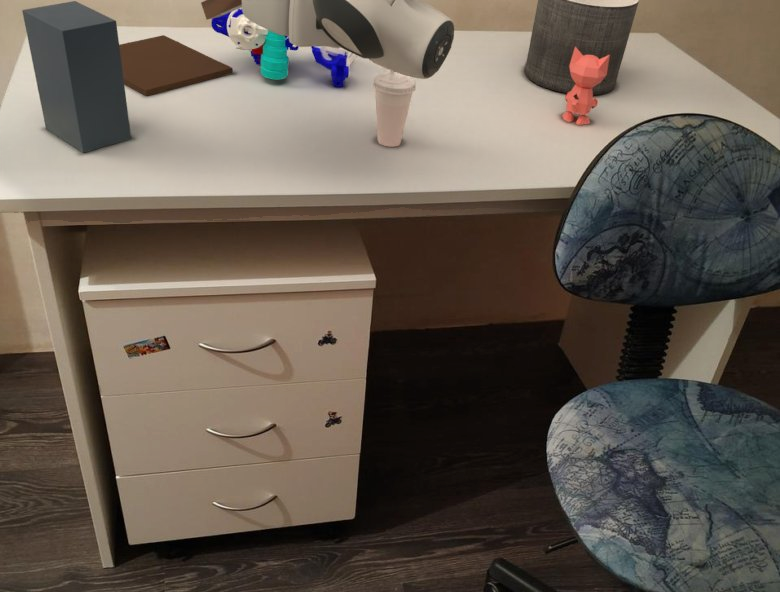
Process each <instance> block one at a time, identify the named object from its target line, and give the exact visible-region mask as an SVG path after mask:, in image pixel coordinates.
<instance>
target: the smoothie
mask: <svg viewBox="0 0 780 592" xmlns="http://www.w3.org/2000/svg"><path fill="white" fill-rule="evenodd" d="M372 85H373V88H374V89H375V108H376V110H375V111H376V134H377V135H376V137H377V143H378V144H379V145H382V146H384V147H389V148H390V147H394V148H395V147H398V146H401V144H402V141H403V140H402V139H403V135H404V130H405V127H406V121H407V119H408V118H407V117H408V113H409V110H410V109H409V108H410V105H411V101H412V96H413V93H414V92H415V91H416V81H415V79H414V78H413V77H410V76H406V75H403V74H400V73H397V72H394V71H391V70H389V72H384V73H380V74H377V75H375V77H374V78H373V83H372Z"/></svg>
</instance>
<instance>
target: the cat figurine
mask: <svg viewBox="0 0 780 592" xmlns="http://www.w3.org/2000/svg"><path fill="white" fill-rule="evenodd" d="M609 57H610V55H608V56H606V57H603V58H601V59H598V57H596V56H594V55H582V54H581V52H580V51H579V50H578V49H577V48H576V46H575V48H574V52H573V55H572V58H571V62H570V65H569V67H570V73H571V77H572V79H573V80H574V82H575V83H576V84H575V86H574V87H573V89H572V90H571V91H570V92H568V93H565V96H564V100H565V101H566V107H565V108H566V109H565V110H566V111H565V112H564V113H563V114H562V115H561V117H562V119H563V120H564V121H565V122H567V123H572V122H574V118H575V117H574V114H575V115H578V118H577V119H576V120H575V125H577V126H583V125H589V124H591V120H590V116H588V115H587V114H589V113H591V110H593V109H594V108H596V107H598V103H599V102H598V101H599V100H598V98H597V97H596V96H594V95H593V92H592V87H594V86H596V85H597V84H599V83H601V82H602V80H603V79H604V78H605V76H606V75H607V69H608V63H609ZM603 81H605V80H603ZM605 82H606V81H605Z"/></svg>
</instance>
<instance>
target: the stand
mask: <svg viewBox="0 0 780 592" xmlns="http://www.w3.org/2000/svg"><path fill="white" fill-rule="evenodd" d="M21 12H22V16H23V22H24V26H25V32H26V36H27V41H28V46H29V51H30V56H31V62H32V66H33V71H34V75H35V81H36V87H37V92H38V95H39V101H40V106H41V111H42V117H43V121H44V126H45V130H47V131H48V132H50V133H51V134H53V135H54V136H56V137H57V138H59V139H61V140H62V141H64V142H65V143H66V144H68V145H70V146H72V147H73V148H75V149H76V150H78V151H79V152H81V153H83V154H85V153H88V152H91V151H96V150H98V149H102V148H105V147H109V146H112V145H116V144H119V143H122V142H126V141H128V140H129V141H130V140H132V133H131V127H130V118H129V110H128V102H127V94H126V87H125V86H126V85H125V84H124V78H123V71H122V63H121V55H120V47H119V45H120V41H119V40H120V39H119V33H118V23H117V20H115V19H113V18H111V17H109V16H107V15H105V14H103V13H101V12H99V11H96V10H95V9H92V8H91V7H89V6H87V5H85V4H83V3H81V2H79V1H76V0H73V1H67V2H61V3H56V4H55V3H54V4H49V5H44V6H37V7H32V8H31V7H30V8H26V9H22V10H21Z"/></svg>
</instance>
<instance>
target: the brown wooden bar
mask: <svg viewBox="0 0 780 592" xmlns="http://www.w3.org/2000/svg"><path fill="white" fill-rule="evenodd" d="M200 5H201V7H202V10H203V13H204V16H205V19H206V20H212V19H213V18H217V17H220V16H223V15H225V14H227V13H230V12H232V11H234V10H236V9H239V8H241V7H242V0H203V1H201V2H200Z"/></svg>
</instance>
